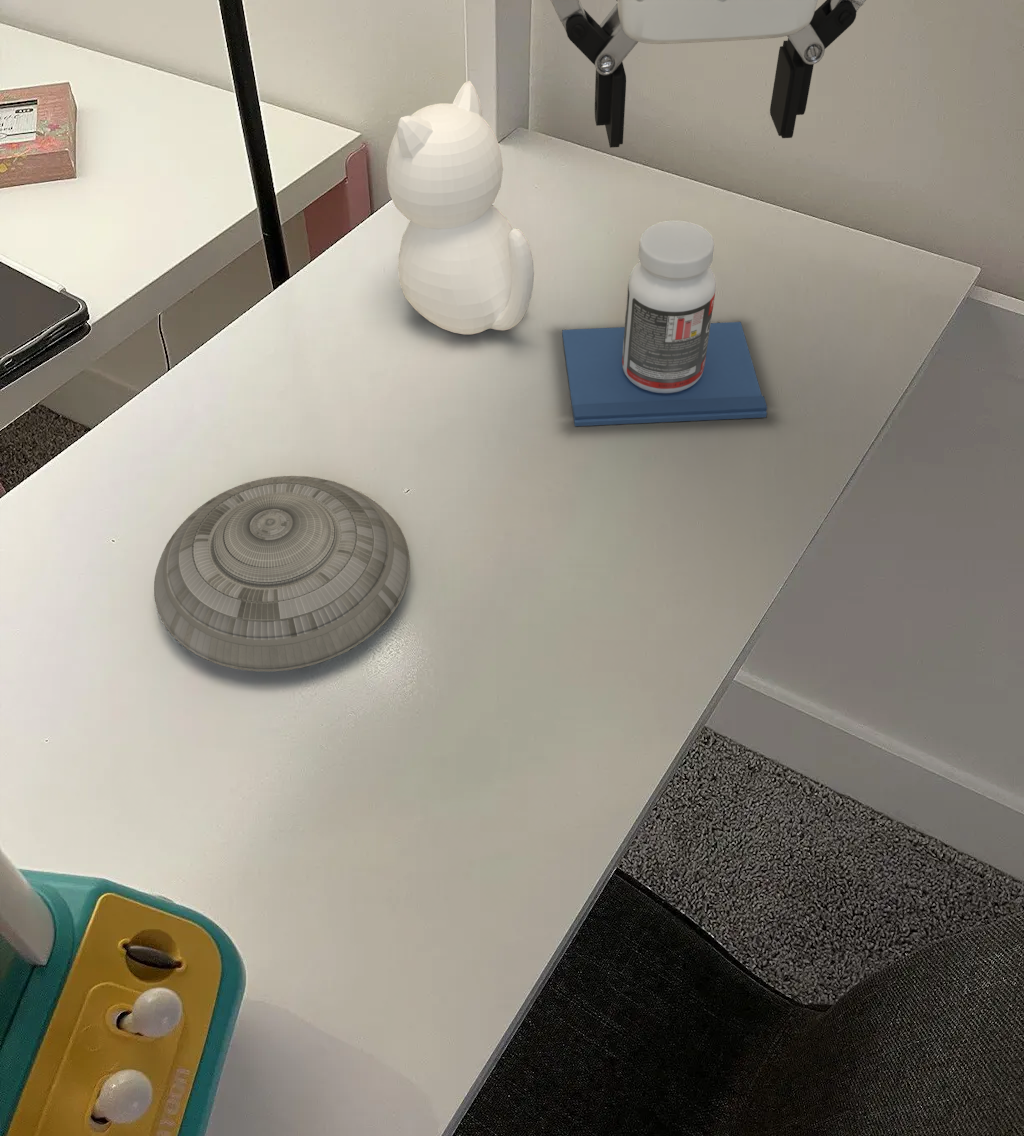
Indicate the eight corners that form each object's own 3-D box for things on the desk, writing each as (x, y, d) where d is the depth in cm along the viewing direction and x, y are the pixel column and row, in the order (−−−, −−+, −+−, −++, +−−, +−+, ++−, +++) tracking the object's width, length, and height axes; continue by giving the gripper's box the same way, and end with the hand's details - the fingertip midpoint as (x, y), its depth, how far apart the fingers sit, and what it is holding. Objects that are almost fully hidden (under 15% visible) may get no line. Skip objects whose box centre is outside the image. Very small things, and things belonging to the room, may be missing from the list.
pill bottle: (717, 384, 78) (739, 255, 70) (643, 405, 77) (656, 276, 69) (680, 336, 81) (696, 207, 73) (607, 355, 80) (616, 226, 72)
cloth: (739, 326, 82) (741, 318, 82) (766, 417, 76) (767, 409, 76) (562, 334, 82) (562, 325, 81) (574, 426, 76) (574, 418, 75)
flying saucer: (325, 724, 62) (310, 663, 57) (108, 630, 66) (78, 566, 61) (456, 544, 70) (451, 478, 65) (254, 470, 74) (237, 403, 69)
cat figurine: (452, 253, 88) (439, 53, 76) (574, 318, 83) (582, 115, 71) (368, 306, 84) (341, 104, 72) (492, 378, 79) (485, 174, 67)
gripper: (552, -209, 49) (551, 173, 62) (951, -229, 49) (862, 156, 62) (540, -260, 53) (541, 107, 67) (904, -277, 53) (832, 92, 67)
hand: (696, 131), depth 65 cm, fingers open, 9 cm apart
